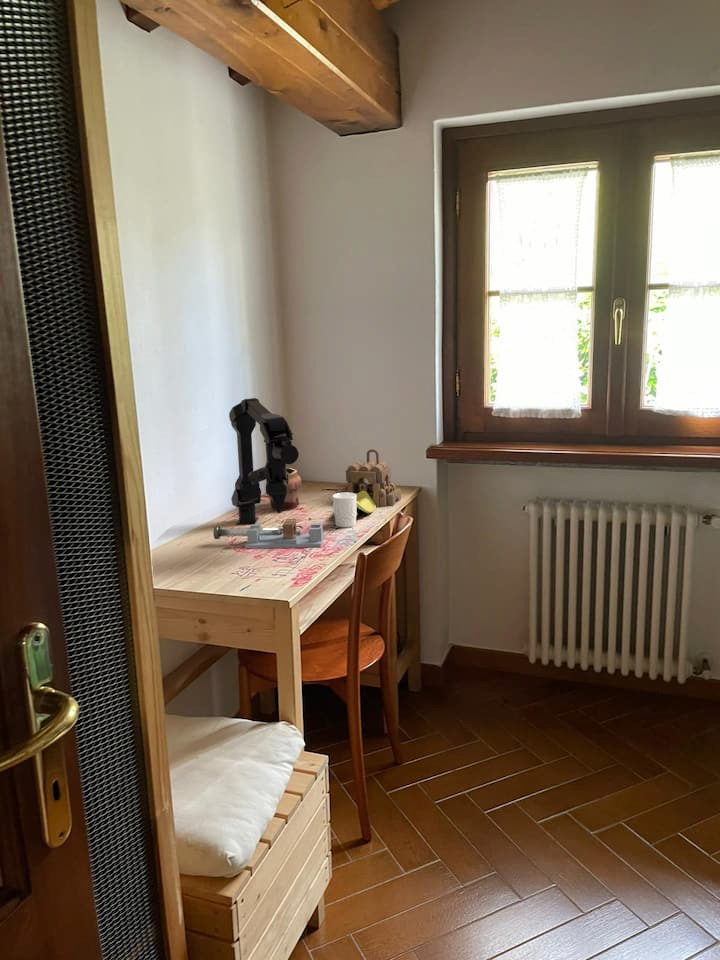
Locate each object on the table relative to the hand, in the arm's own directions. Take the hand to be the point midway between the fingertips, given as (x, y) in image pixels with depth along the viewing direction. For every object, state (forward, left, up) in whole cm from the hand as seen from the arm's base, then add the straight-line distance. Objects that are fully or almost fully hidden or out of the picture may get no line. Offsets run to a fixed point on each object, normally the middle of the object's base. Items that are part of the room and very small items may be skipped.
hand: (279, 508), depth 223 cm
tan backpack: (-48, +25, -11) cm, 55 cm away
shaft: (0, -10, -9) cm, 13 cm away
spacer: (0, +3, -10) cm, 10 cm away
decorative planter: (-40, -6, -11) cm, 42 cm away
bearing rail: (0, +1, -11) cm, 11 cm away
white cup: (-18, +18, -11) cm, 28 cm away
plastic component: (-31, +20, -11) cm, 39 cm away
